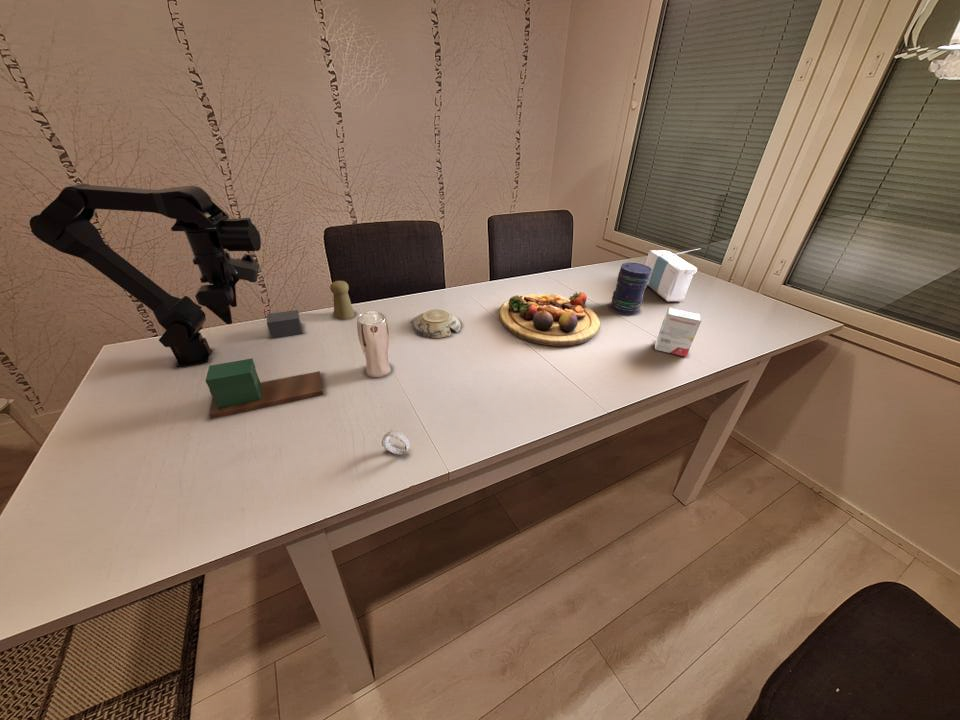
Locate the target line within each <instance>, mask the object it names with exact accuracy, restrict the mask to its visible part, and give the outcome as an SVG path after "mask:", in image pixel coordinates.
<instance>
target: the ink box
mask: <svg viewBox="0 0 960 720" xmlns="http://www.w3.org/2000/svg"><path fill="white" fill-rule="evenodd" d="M701 323H702V318H701V314H699V313H695V312H690V311H685V310H680V309H676V308H672V307H668V308H667V310H666V312H665V314H664V318H663V321H662V324H661V327H660V329H659V332H658V335H657V336H656V337H657V338H656V341H655V343H654V349H655V351H661V352H664V353H669V354H673V355H677V356H680V357H687V356H688V354H689V351H690V348H691V346H692V344H693V341H694V339H695V337H696V334H697V332H698V330H699V327H700V325H701Z"/></svg>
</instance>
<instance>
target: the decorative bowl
mask: <svg viewBox="0 0 960 720" xmlns="http://www.w3.org/2000/svg"><path fill="white" fill-rule="evenodd" d="M412 326H413V329H414V330H415V331H416V333H417V335H418V336H421V337H424V338H432V339H442V338H446V337H450V336H452V332H451V330H453V331H454V332H455V333H458V332H459V331H460V330H461V322H460V320H459V318H458V317H457V316H455V315H454V314H452V313H450V312H448V311H446V310H444V309H436V308H435V309H429V310H426V311H424V312H422V313H420V314H419V315H417V316H416V318H415V319H414V320H413V321H412Z"/></svg>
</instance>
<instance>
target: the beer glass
mask: <svg viewBox="0 0 960 720" xmlns="http://www.w3.org/2000/svg"><path fill="white" fill-rule="evenodd" d="M356 329H357V336H358V342H359V344H360V348H361V350H362V352H363V356H364V359H365V363H366V364H365V373H366V375H367V376H369V377H371V378H383V377H386V376H387V375H389V373H390V372H391V371H392V368H391V364H390V362H389V345H390V333H389V332H390V331H389V327H388V321H387V315H386V314H385V313H384V312H380V311H376V310H375V311H373V310H371V311H365V312H363V313H360V314H358V315H357V317H356Z"/></svg>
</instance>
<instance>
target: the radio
mask: <svg viewBox="0 0 960 720" xmlns="http://www.w3.org/2000/svg"><path fill="white" fill-rule="evenodd" d="M696 250H702V248H701V247H698V248H694V249H690V250H685V251H680V252H676V253H673V252H672V251H670V250H663V249H662V250H661V249H659V250H657V249H655V250H654V249H653V250H651V249H650V250H649V251H648V253H647V257H646V259H645V263H644V265H646V266H648V267H650V268H651V269H652V271H651V274H650V279H649V282H648V285H647V287H649V288H651V290H653V291H654V292H655V293H657V295H659V296H660V297H661V298H663V300H665V301H666V302H667V303H668V302H683V301H684V300H685V298H686V294H687V292H688V290H689V287H690V284H691V282H692V279H693V277H694V275H695V274H696V273H697V271H698V268H697V267H696V266H694V265H693V264H691V263H689V262H688V261H686V260H684V259H683V258H681V257H679V256H678V255H681V254H686V253H689V252H693V251H696Z"/></svg>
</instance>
